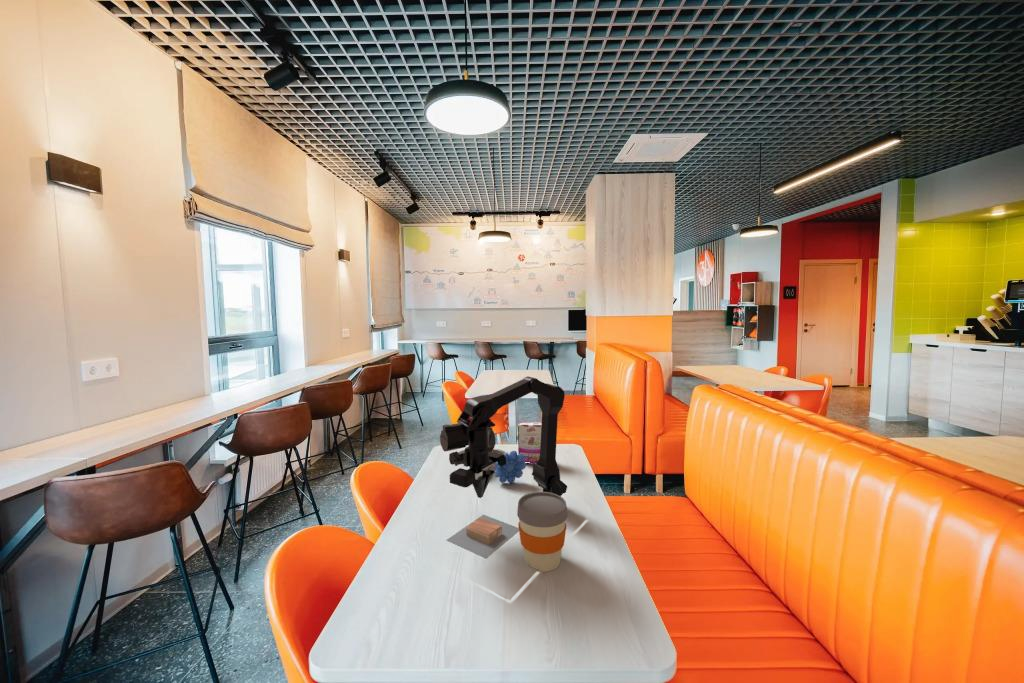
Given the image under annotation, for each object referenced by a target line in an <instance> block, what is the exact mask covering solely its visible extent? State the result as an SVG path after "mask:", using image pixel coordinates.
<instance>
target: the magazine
mask: <svg viewBox="0 0 1024 683" xmlns="http://www.w3.org/2000/svg"><path fill="white" fill-rule="evenodd" d="M488 436H489V446H492V450H491V451H492V452H494V449H495V447H496V435H495V431H494V430H493V427H489V428H488ZM491 451H489V453H490V452H491Z"/></svg>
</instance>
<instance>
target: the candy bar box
mask: <svg viewBox="0 0 1024 683" xmlns="http://www.w3.org/2000/svg"><path fill="white" fill-rule="evenodd" d="M541 425H542V421H541V422H539V421H538V422H537V421H535V422H534V421H519V422H518V424H517V440H518V441H517V442H518V443H517V447H518V448H517V449H518V451H517V455H518V454H522V455H523V456H524V459H523V461H524V462H530V463H537V461H538V460H539V458H540V445H541Z"/></svg>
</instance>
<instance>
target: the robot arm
mask: <svg viewBox="0 0 1024 683" xmlns="http://www.w3.org/2000/svg"><path fill="white" fill-rule="evenodd" d="M530 393H532V394H535V395H537V401H538V402H537V403H538V405H539V409H540V411H541V422H542V425H541V445H540V458H539V460H538V461H537V463H533V464H532V473H531V476H533V480H534V481H535V483H537V485H538V487H539V488H542V492H549V493H554V494H557V495H559V496H561V497H562V496H563V494H565V493H567V490H568V485H567V484H566V483H565V482H564V481H562V480H561V471H560V467H559V465H558V462H557V460H556V454H557V439H558V438H557V436H558V418H559V413H560V411H561V410H562V409H563V406H564V401H565V395H566V394H565V390H564V389H563V388H562V387H560V386H558V385H554V384H551V383H545V382H542V381H541V380H539V379H538V378H536V377H532V376H524V377H523V378H522V379H520V380H518V381H516V382H515V383H511V384H509V385H508V386H506V387H504V388H501V389H499V390H497V391H495V392H493V393H490V394H483V395H477V396H474V397H473V396H472V397H470V398H469V399H467V401H465V404H464V408H463V410H462V412H461V413H460V415H459V417H458V418H457V421H456V422H457V423H452V424H443V425H442V430H441V432H440V435H439V442H440V446H441V448H442V450H443V451H444V452H450V451H453V452H450V453H448V454H449V458H448V460H449V463H450V465H452V466H455V467H456V466H458V465H463V467H466V468H468V469H466V468H465V469H464V468H462V467H460V468H457V469H455V470H454V471H452V472H451V473H450V474H449V483H450V484H453V485H456V486H458V487H460V488H469V487H470V486H473V489H474V491H475V493H476V496H477V498H479V499H481V498H483V497H484V495H485V492H486V490H487V488H488V486H489V483H490V482H491V479H492V477H493V476H494V473H495V470H493V469H492V467H491V466H494V465H495V464H496V462H498V465H499V466H500V467H502V466H503V465H505V464H506V457H505V456H504V453H500V452H496V451H493V452H492V451H491V450H492V446H489V436H488V428H489V427H492V428H493V427H495V426H496V423H494V422H493V421H492V420H491V418H492V417H493V416H495V415H496V413H497V412H498V411H499V410H500V409H501V408H503V407H505V406H507V405H508V404H509V405H510V404H511V403H512V402H514V401H517V400H519V399H521V398H523V397H524V396H526V395H529V394H530ZM469 418H470V419H471V420H470V419H469ZM463 448H464V449H463ZM458 449H459V450H460V449H463V450H460V451H457V450H458ZM455 450H456V451H455ZM489 451H491V452H490V453H489Z"/></svg>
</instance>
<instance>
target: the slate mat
mask: <svg viewBox="0 0 1024 683" xmlns="http://www.w3.org/2000/svg"><path fill="white" fill-rule="evenodd" d="M479 518H482V519H484V520H487V521H490V522H492V523H495V524H497V525H500V526H502V535H500V536H499V537H498V538H497V539H495V540H494V541H493V542H492V543H490V544H489V545H488V544H486V543H484V542H481V541H479V540H477V539H474V538H472V537H470V536H467V535H466V527H468V526H469V525H471V524H472V523H473V522H475V521H476V520H478V519H479ZM517 533H519V526H515V525H512V524H509V523H507V522H504V521H501V520H499V519H496V518H494V517H491V516H490V515H486V514H482V515H480V516H479V517H477V518H476V519H474V520H473V521H472V522H470V523H469V524H468V525H466V526H465V527H463V528H462V529H460V530H459V531H457V532H456V533H455V534H453V535H452V536H450V537H449V538H447V539H446V541H447V542H449V543H452V545H453V544H454V545H456V546H458V547H460V548H462V549H464V550H466V551H469V552H471V553H473V554H475V555H478V556H479V557H482V558H484V559H487V558H489V557H490V556H491V555H492V554H493V553H494V552H495V553H496V551H497V550H498V549H499V548H500V547H502V546H503V545H505V543H507V542H508V541H509V540H511V539H512V538H513V536H515V535H516V534H517Z"/></svg>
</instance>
